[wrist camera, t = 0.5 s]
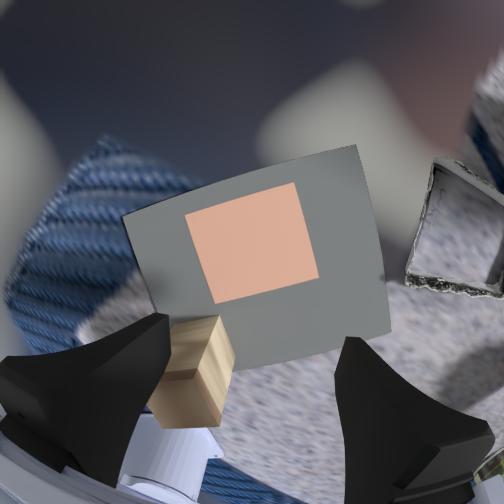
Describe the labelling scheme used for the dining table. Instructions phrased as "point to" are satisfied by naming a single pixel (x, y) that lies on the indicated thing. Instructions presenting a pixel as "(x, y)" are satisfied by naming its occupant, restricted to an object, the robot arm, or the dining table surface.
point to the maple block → (194, 376)
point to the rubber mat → (270, 258)
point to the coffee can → (491, 467)
